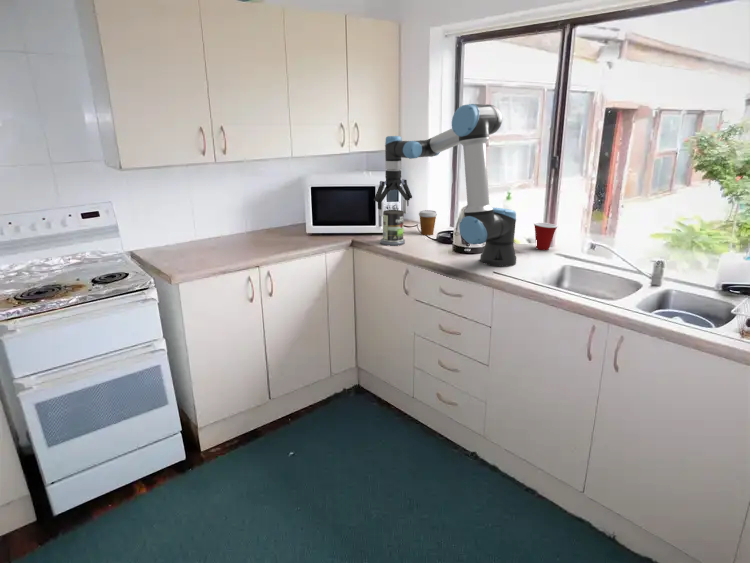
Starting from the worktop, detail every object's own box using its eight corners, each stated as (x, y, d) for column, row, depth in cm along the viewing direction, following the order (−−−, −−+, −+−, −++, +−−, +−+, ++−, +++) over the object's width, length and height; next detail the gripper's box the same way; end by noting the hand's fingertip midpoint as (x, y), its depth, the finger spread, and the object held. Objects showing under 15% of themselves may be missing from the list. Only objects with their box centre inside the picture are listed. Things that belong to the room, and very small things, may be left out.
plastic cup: (559, 250, 234) (563, 225, 231) (540, 252, 231) (542, 226, 227) (545, 245, 244) (548, 220, 240) (526, 246, 241) (529, 222, 237)
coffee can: (407, 239, 249) (408, 211, 244) (395, 243, 241) (395, 214, 237) (390, 236, 255) (390, 208, 250) (378, 240, 247) (378, 211, 242)
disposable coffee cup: (421, 236, 261) (422, 213, 257) (415, 232, 270) (416, 210, 266) (438, 235, 263) (439, 212, 259) (432, 231, 272) (433, 209, 268)
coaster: (409, 243, 246) (409, 240, 246) (388, 247, 240) (388, 244, 240) (396, 238, 256) (396, 236, 255) (375, 241, 250) (375, 238, 250)
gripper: (410, 167, 246) (410, 211, 252) (366, 170, 234) (367, 215, 241) (419, 169, 240) (418, 213, 246) (374, 172, 228) (374, 218, 234)
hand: (393, 214), depth 243 cm, fingers open, 13 cm apart
